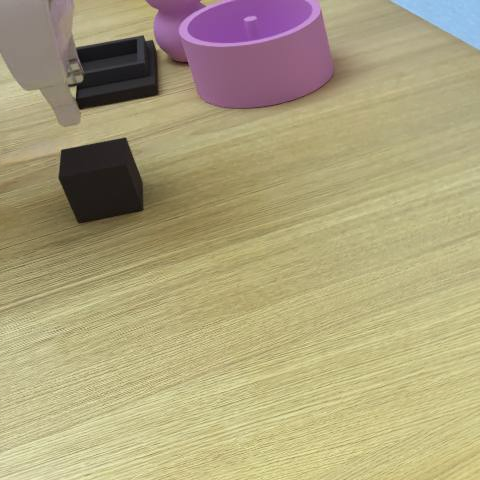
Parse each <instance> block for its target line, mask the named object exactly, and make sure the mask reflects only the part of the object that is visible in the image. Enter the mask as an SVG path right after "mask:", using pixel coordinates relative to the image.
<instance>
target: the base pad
mask: <svg viewBox="0 0 480 480" xmlns="http://www.w3.org/2000/svg"><path fill="white" fill-rule="evenodd" d="M76 50H77V54H78V58H79V60H80V63H81V66H82V68H83V71H84V77H83V81H82V82H81V83H75V84H72V85H68V87H69V88H72V87H75V88H76V89H75V100H76V102H77V105H78V108H79V109H80V110H83V109H90V108H94V107H100V106H105V105H111V104H116V103H121V102H126V101H131V100H138V99H142V98H147V97H153V96H159V93H160V92H159V79H158V77H159V76H158V59H157V48H156V45H155V42H154V39H150V40H146V38H145V35H142V34H141V35H136V36H132V37H126V38H120V39H116V40H115V39H114V40H110V41H104V42H98V43H93V44H87V45H81V46H76Z"/></svg>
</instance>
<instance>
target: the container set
mask: <svg viewBox="0 0 480 480" xmlns="http://www.w3.org/2000/svg"><path fill="white" fill-rule="evenodd" d="M144 1H145V2H146V3H147V4H148V5H149V6H150V7H152V8H154V9H155V10H158V11H157V12H156V14H155V16H154V20H153V36H154V38H155V41H156V44H157V45H158V47H159V48H160V50H161V51H162V52H164V53H165V54H166V55H167V56H169V57H170V58H172V60H174V61H176V62H180V63H188V67H189V69H190V74H191V76H192V79H193V82H194V86H195V89H196V92H197V94H198V96H199V97H200V99H201V100H203V101H204V102H206V103H208V104H211V105H213V106H216V107H222V108H229V109H230V108H231V109H253V108H254V109H255V108H262V107H269V106H275V105H279V104H283V103H287V102H290V101H291V102H292V101H294V100H297V99H299V98H302V97H305V96H307V95H309V94H310V93H313V92H315V91H316V90H319V89H320V88H321V87H323V86H324V85H325V84H327V83H328V82H329V81H330V79H331V78H332V76H333V75H334V71H335V67H334V66H335V65H334V62H333V57H332V52H331V47H330V43H329V39H328V34H327V30H326V29H327V28H326V24H325V20H324V15H323V10H322V6H321V4H320V2H319V1H318V0H221V1H217V2H214V3H212V4H210V5H206V4H204V3H202V2H201V1H202V0H144Z"/></svg>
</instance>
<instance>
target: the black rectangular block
mask: <svg viewBox="0 0 480 480" xmlns="http://www.w3.org/2000/svg"><path fill="white" fill-rule="evenodd" d="M59 157H60V158H59V166H58V167H59V168H58V181H59V183H60V185H61V188H62V190H63V193H64V194H65V197H66V199H67V202H68V204H69V207H70V208H71V211H72V213H73V215H74V217H75V220H76V222H77V224H81V223H86V222H91V221H96V220H100V219H107V218H110V217H115V216H120V215H126V214H130V213H135V212H141V211H144V189H143V188H144V186H143V183H144V182H143V179H142V177H141V174H140V171H139V168H138V166H137V163H136V161H135V158H134V154H133V152H132V149H131V147H130V143H129V142H128V139H127V137H125V136H124V137H121V138H115V139H109V140H104V141H98V142H93V143H88V144H84V145H78V146H72V147H67V148H62V149H61V150H60V156H59Z"/></svg>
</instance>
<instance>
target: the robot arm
mask: <svg viewBox="0 0 480 480" xmlns="http://www.w3.org/2000/svg"><path fill="white" fill-rule="evenodd" d="M74 14H75V1H74V0H0V56H1V58H2V59H3V61H4V64H5V65H6V67H7V69H8V71H9V73H10V74H11V76H12V77H13V78H14V80H15V82H16V83H17V84H18V85H19V86H20V87H21V88H22V89H23V90H24V91H26V92H33V91H37V90H39V92H40V93H41V95H42V96H43V97H44V99H45V100H46V101H47V103H48V104H49V106H50V107H51V109H52V110H53V113H54V114H55V118H56V120H57V122H58V124H59V125H60V126H61V127H64V128H67V127H73V126H77V125H80V123H81V121H82V120H81V119H82V112H81V109H79V108H78V105H77V102H76V100H75V99H76V96H73V94H72V91H71V89H70V87H68V85H72V84H75V83H81V82H82V81H83V77H84V71H83V68H82V66H81V63H80V60H79V58H78V54H77V50H76V47H77V46H76V43H75V38H74V34H73V24H74V16H75V15H74Z"/></svg>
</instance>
